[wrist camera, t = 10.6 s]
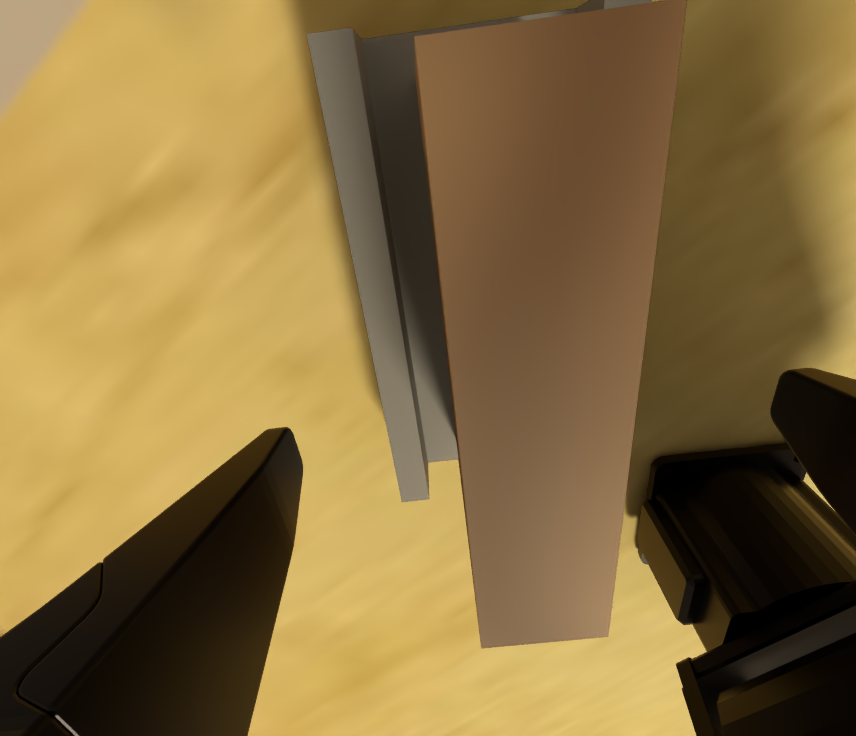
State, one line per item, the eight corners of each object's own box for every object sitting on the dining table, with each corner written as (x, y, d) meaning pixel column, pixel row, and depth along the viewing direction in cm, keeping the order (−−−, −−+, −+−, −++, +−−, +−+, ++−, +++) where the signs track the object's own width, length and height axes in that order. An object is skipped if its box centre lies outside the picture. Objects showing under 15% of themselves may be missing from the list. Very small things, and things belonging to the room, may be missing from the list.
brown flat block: (529, 61, 12) (686, -3, 5) (533, 430, 18) (608, 637, 11) (415, 77, 12) (413, 36, 5) (455, 438, 18) (481, 648, 11)
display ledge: (602, 10, 12) (653, -17, 10) (580, 430, 19) (606, 480, 17) (329, 49, 13) (306, 34, 10) (403, 449, 19) (402, 502, 17)
